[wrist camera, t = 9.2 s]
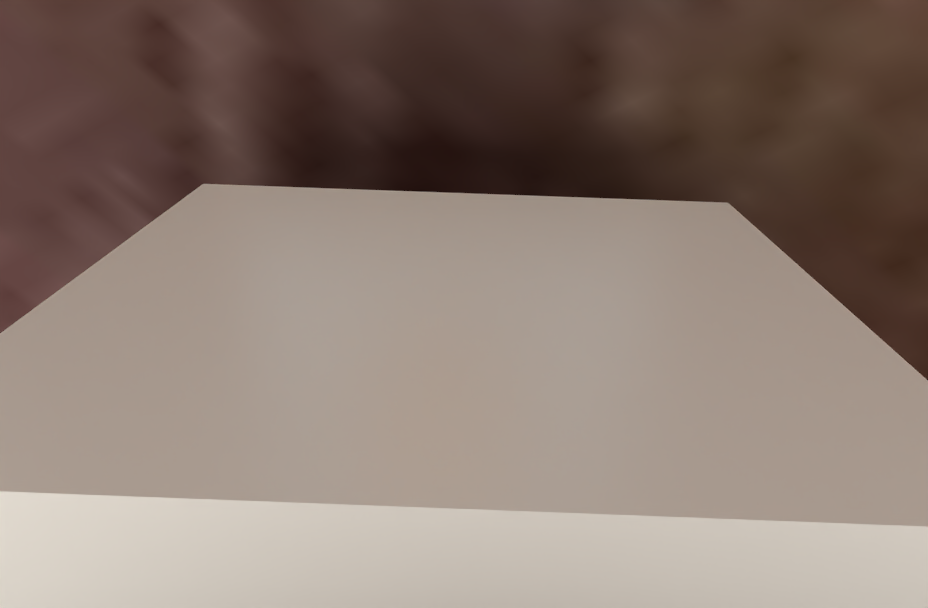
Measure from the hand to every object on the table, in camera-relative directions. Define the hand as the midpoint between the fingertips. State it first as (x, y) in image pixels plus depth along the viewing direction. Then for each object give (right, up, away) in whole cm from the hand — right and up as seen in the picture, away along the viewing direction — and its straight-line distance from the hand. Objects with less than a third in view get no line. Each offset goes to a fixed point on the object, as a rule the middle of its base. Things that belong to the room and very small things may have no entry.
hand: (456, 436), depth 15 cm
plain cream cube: (0, 0, +1) cm, 1 cm away
